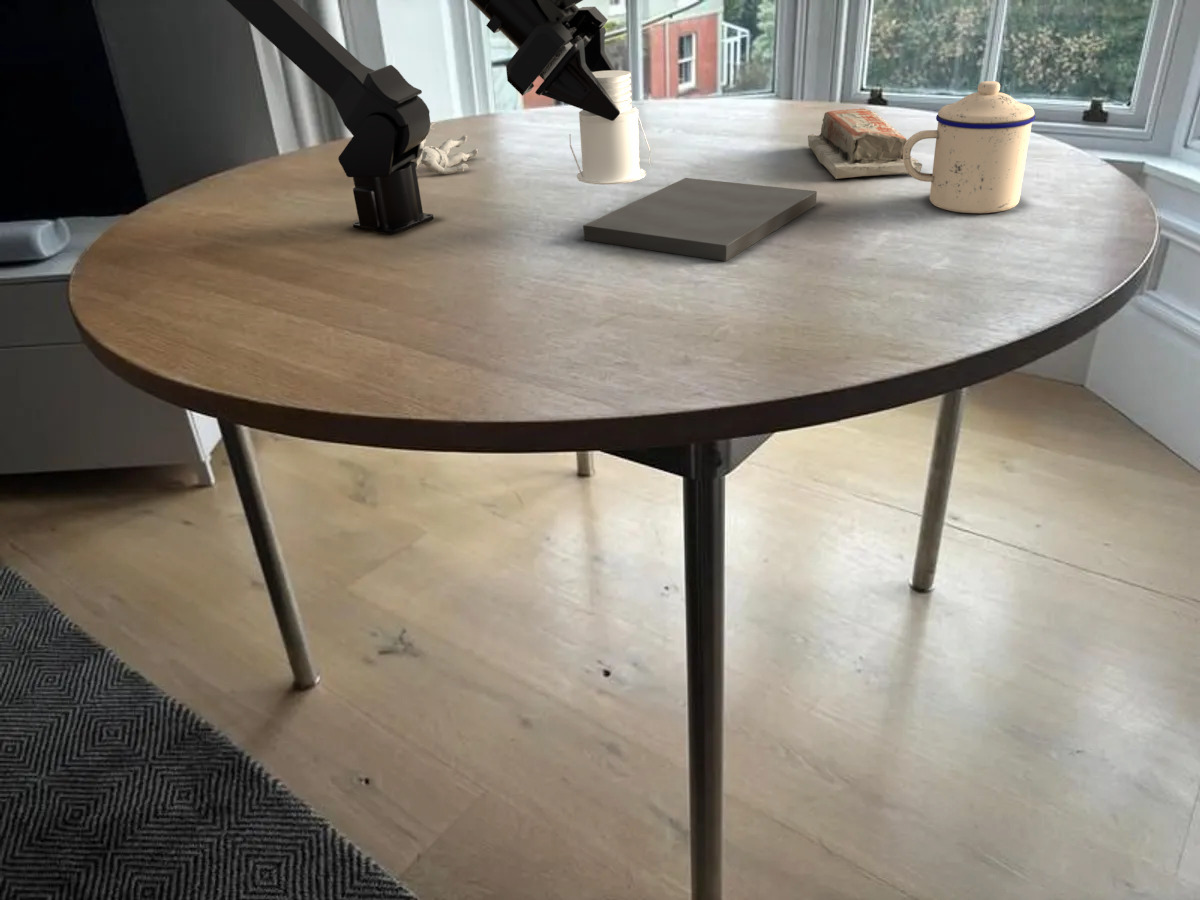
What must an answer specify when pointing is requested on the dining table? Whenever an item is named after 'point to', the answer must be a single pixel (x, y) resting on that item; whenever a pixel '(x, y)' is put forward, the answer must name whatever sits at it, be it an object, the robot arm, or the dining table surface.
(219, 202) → the dining table surface
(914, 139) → the teacup with lid
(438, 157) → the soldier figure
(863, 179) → the dining table surface
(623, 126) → the downlight
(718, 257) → the slate board
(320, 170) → the dining table surface
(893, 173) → the packaged product
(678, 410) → the dining table surface
